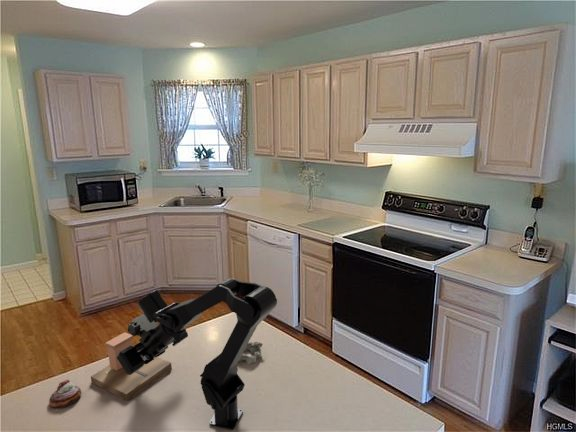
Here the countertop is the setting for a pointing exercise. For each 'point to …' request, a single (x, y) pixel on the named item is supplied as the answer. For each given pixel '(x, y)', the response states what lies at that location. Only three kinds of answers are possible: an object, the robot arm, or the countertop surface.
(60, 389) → the pastry
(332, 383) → the countertop surface
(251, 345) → the egg carton
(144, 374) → the fader track
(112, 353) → the handle
